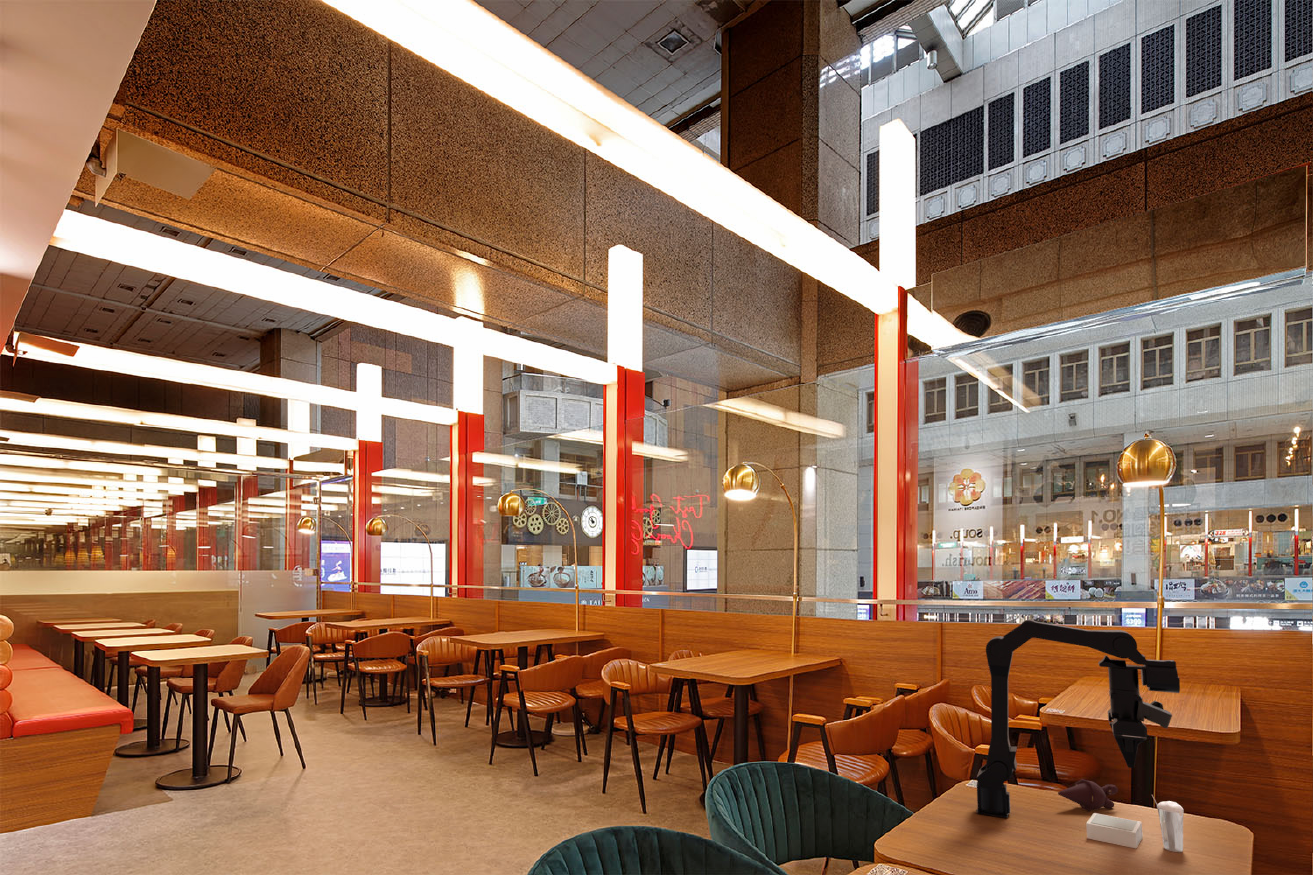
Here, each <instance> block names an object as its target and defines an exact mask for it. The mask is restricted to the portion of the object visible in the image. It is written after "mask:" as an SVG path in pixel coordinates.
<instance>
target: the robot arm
mask: <svg viewBox="0 0 1313 875" xmlns="http://www.w3.org/2000/svg"><path fill="white" fill-rule="evenodd" d="M1031 639H1041V640H1046V641H1051V642H1056V643H1064V644H1068V645H1073V646H1080V647H1087V648H1090V649H1093V650H1095V651H1099V652H1101V653H1104V654H1105V655H1104V657H1103V658H1102V659H1101V660H1099V661H1098V666H1099V667H1101V668H1102V667H1103V668H1108V669H1107V670H1108V672H1107V673H1108V685H1109V687H1108V688H1109V690H1108V696H1109V700H1110V702H1109V703H1110V708H1109V709H1108V710H1107V719H1108V720H1107V721H1108V723H1109V726H1110V728H1111V731H1112V735H1113V737H1114V739H1115V741H1116V743H1117V746H1118V747H1119V750H1120V752H1121V755H1122V757H1123V760H1124V762H1125V764H1126V766H1127V767H1128V768H1129V769H1134V768H1135V765H1136V759H1137V752H1138V749H1139V748H1138V746H1139V745H1140V744H1141V743H1143V742H1145V741H1146V740H1147V738H1148V727H1147V725H1146V724H1145V723H1144V722H1145V720H1147V721H1150V722H1151V723H1154V724H1156V725H1159V726H1160V727H1162V728H1164V729H1168V728H1169V726H1170V722H1171V720H1172V718H1173V713H1172V712H1170V711H1169V710H1167V709H1165V708H1164V704H1163V703H1162V702H1160V701H1158V700H1153V701H1152V702H1145V701H1143V697H1142V695H1140V683H1139V682H1140V681H1139V670H1140V676H1141V677H1140V678H1141V685H1142V686H1145V687H1146V688H1147V690H1148V691H1150V692H1159V693H1160V692H1161V693H1174V694H1179V693H1180V691H1181V683H1180V681H1181V680H1180V676H1179V674H1178V669H1177V663H1176V661H1175V660H1174V659H1171V660H1170V659H1165V660H1159V659H1146V656H1145V654H1142V653H1141V652H1140V651H1139V650H1138V643H1137V640H1136V639H1135V637H1134V636H1132V634H1130V633H1129V632H1128V631H1126V630H1121V629H1083V628H1079V627H1071V626H1067V625H1066V626H1064V625H1059V624H1053V623H1047V622H1042V621H1041V622H1040V621H1037V620H1033V619H1025V620H1023V621H1022V623H1021V624H1019V625H1018V626H1016V627H1015V628H1013V629H1012V630H1010V631H1009V632H1008V633H1005V635H1003V636H1001V635H998V636H994V637H991V638H990V639H989V641H988V642H987V643H986V644H985V645H986V646H985V655H986V659H987V666H988V669H989V670H988V671H989V674H990V677H991V678H990V680H991V682H990V685H991V688H990V698H991V700H990V701H991V702H990V703H991V704H990V705H991V706H990V708H991V709H990V716H991V721H990V723H991V724H990V725H991V726H990V728H991V729H990V730H991V731H990V732H991V733H990V734H991V737H990V742H989V746H988V747H989V748H988V752H987V758H986V762H985V764H984V765H982V766H981V767H980V768H979V771H978V773H977V775H976V801H977V802H976V803H977V808H976V814H978V815H984V816H991V817H998V818H1004V819H1008V817H1009V814H1011V796H1010V795H1011V794H1010V791H1008V790H1007V786H1008V785H1007V784H1005V782H1008V781H1009V780H1010V779H1011V778H1012V777H1013V773H1014V771H1015V772H1016V771H1017V766H1018V762H1017V758H1016V756H1017V755H1016V754H1017V749H1018V747H1017V746H1011V742H1010V736H1009V676H1010V670H1011V665H1012V661H1013V660H1012V659H1013V655H1014V651H1016V650H1017V649H1019V648H1020V647H1022V646H1023V645H1025V644H1026V643H1027V642H1028V641H1030V640H1031ZM1106 654H1107V655H1106ZM1108 655H1110V656H1113V657H1116V658H1119V659H1113V658H1110V657H1109V656H1108ZM1125 659H1129V660H1130V661H1131V662H1132V663H1134V664H1127V663H1126V660H1125Z"/></svg>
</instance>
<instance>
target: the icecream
mask: <svg viewBox="0 0 1313 875" xmlns="http://www.w3.org/2000/svg"><path fill="white" fill-rule="evenodd" d="M1118 790H1119V789H1118V787H1117V786H1116V785H1115V784H1105V785H1104V786H1100V785H1099V784H1097V783H1096V782H1095V781H1092V780H1087V779H1084V778H1082V779H1080V780H1078V781H1076V782H1075V783H1074V785H1073V786H1071V787H1067V788H1066V789H1063V790H1060V791H1058V792H1057V795H1058V796H1060V797H1063V798H1065V799H1067V800H1070V801H1071V802H1073V803H1076V804H1078V805H1079V806H1080V808H1081V809H1082V810H1084V811H1087V812H1092V810H1093V811H1095V810H1100V809H1102V808H1105V809H1113V808H1114V807H1115V802H1114V801H1113V800H1110V799H1109V798H1108V796H1112V795H1115V794H1117V792H1118Z"/></svg>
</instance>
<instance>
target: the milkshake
mask: <svg viewBox="0 0 1313 875" xmlns="http://www.w3.org/2000/svg"><path fill="white" fill-rule="evenodd" d="M1151 796H1152V798H1153V800H1154V803H1155V805H1156V808H1157V813H1158V817H1159V822H1160V824H1159V825H1160V830H1161V836H1162V844H1163V848H1164V849H1165V850H1167V851H1168V852H1174V853H1182V852H1183V851H1184V808H1183V807H1182V805H1180V804H1179V803H1177V802H1176V801H1172V800H1171V801H1170V800H1167V801H1160V802H1159V803H1157V801H1156V799H1155V797H1154V795H1153V794H1151Z"/></svg>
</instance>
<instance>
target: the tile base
mask: <svg viewBox="0 0 1313 875" xmlns="http://www.w3.org/2000/svg"><path fill="white" fill-rule="evenodd" d="M1085 824H1086V825H1085V826H1086V838H1087V839H1089V840H1094V841H1099V842H1104V843H1109V844H1112V845H1118V846H1123V847H1127V848H1132V849H1137V848H1138V847H1139V845H1140V843H1141V842H1142V841H1141V840H1142V839H1143V825H1142V824H1143V823H1142V821H1140V820H1139V821H1138V820H1135V819H1133V820H1132V819H1129V818H1128V819H1127V818H1124V817H1123V818H1122V817H1117V816H1112V815H1106V814H1101V813H1097V812H1094V813H1092V815H1091V817H1089V819H1088V820H1087V822H1086V823H1085Z"/></svg>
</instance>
